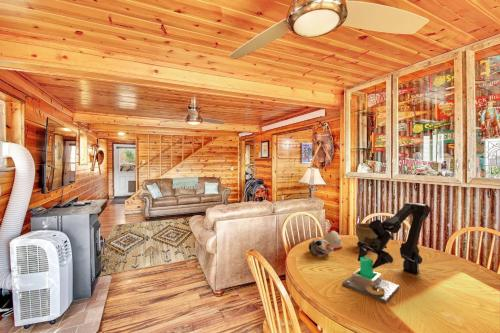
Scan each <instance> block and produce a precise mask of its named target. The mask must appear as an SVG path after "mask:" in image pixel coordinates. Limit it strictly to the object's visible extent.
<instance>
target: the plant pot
mask: <svg viewBox="0 0 500 333" xmlns="http://www.w3.org/2000/svg"><path fill="white" fill-rule="evenodd" d="M354 226H355V232H356V235H357V238H358V239H357V240H358V241H361V242H363V241H364V238H365V237H368V238H370V239H372V238H376V236H377V235H375V234H374V233H373V231H372V230H371V229H370V228H369V223H366V222H365V223H364V222H362V223H361V222H360V223H356V224H354ZM366 245H367V243H366ZM367 246H368V245H367ZM368 247H370V246H368Z"/></svg>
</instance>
